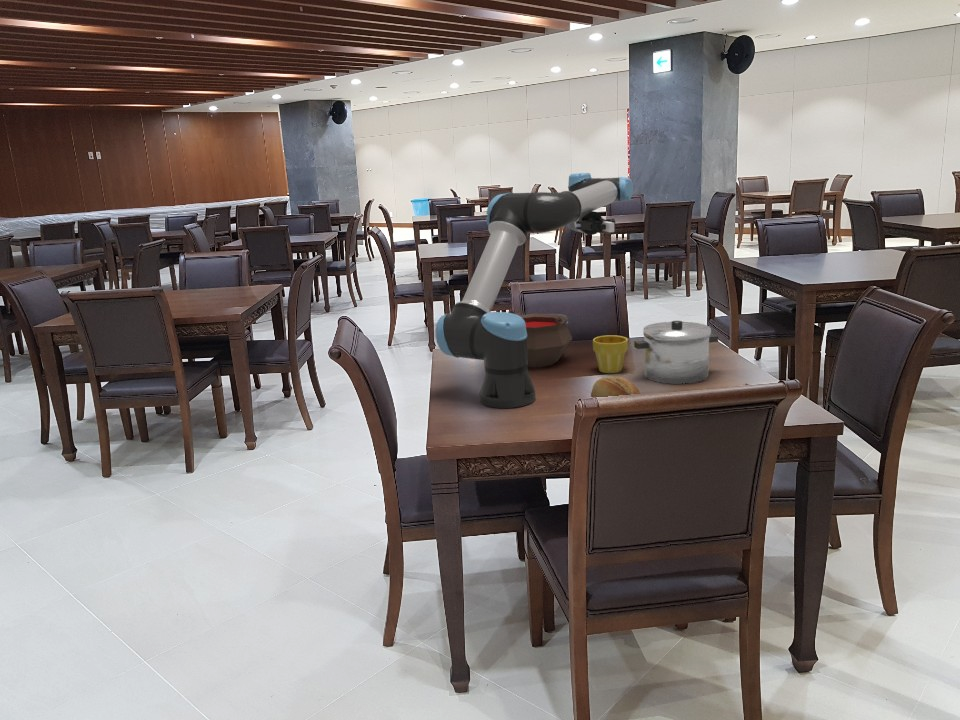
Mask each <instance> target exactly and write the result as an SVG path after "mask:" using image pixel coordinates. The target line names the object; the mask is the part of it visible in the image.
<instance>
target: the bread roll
mask: <svg viewBox="0 0 960 720" xmlns="http://www.w3.org/2000/svg"><path fill="white" fill-rule="evenodd" d="M631 394H641V392H640V390H639V388H638V386H637V385H636V384H635V383H633V382H631V381H630V380H629V379H627V378H625V377H621V376H608V377H607V376H606V377H601V378H599V379H598V380H596V381H595V382H594V383H593V386H592V389H591V391H590V398H591V397H608V396H619V395H631Z"/></svg>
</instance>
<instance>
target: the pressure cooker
mask: <svg viewBox="0 0 960 720" xmlns="http://www.w3.org/2000/svg"><path fill="white" fill-rule="evenodd" d="M718 342H719V336H718V335H716V334H714V333H711V336H710V337H708V338H706V339H702V340H697V341H688V342H667V341H658V340H653V339H649V338H647V337H645V336H644V335H643V340H636V341H634V342H633V343H634V344H633V345H634V348H635V349H637V350H643V377H645V379H647V378H648V379H647V380H649V379H651V380H654V381H653V382H655V381H659V382H663V383H662V384H666V383H672V384H671V385H686V384H685V383H690V384H695V382H696V383H700V382H703V381H706V380H707V379H708V378H709V364H710V363H709V360H710V353H709V352H710V343H718ZM707 377H708V378H707ZM706 378H707V379H706ZM651 380H650V381H651ZM702 380H703V381H702ZM699 381H700V382H699ZM659 382H658V383H659ZM673 383H675V384H673ZM682 383H683V384H682Z"/></svg>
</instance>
